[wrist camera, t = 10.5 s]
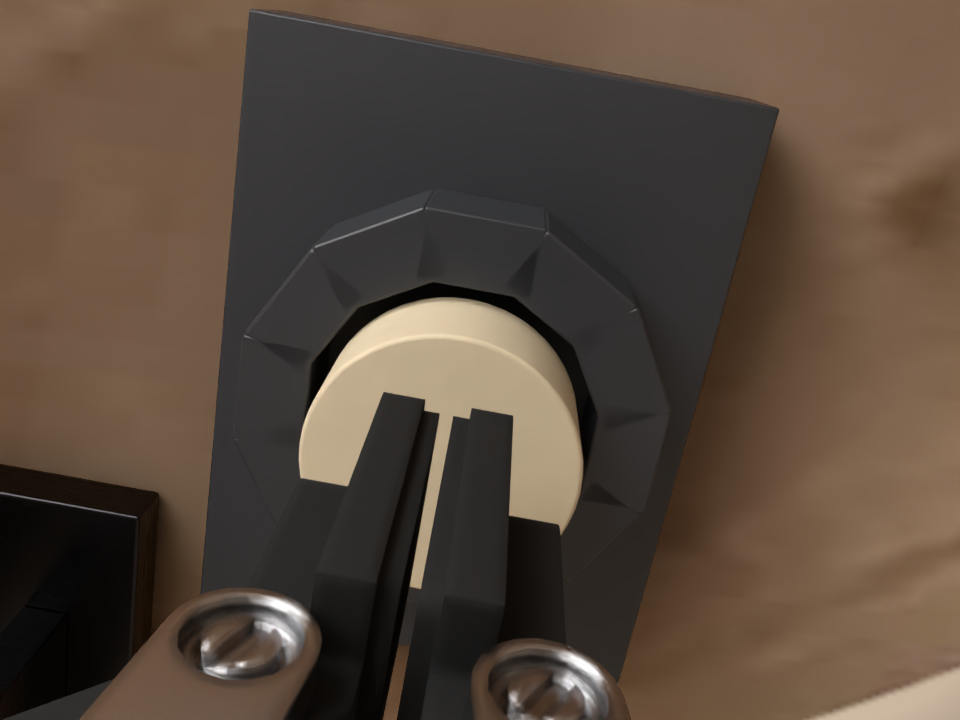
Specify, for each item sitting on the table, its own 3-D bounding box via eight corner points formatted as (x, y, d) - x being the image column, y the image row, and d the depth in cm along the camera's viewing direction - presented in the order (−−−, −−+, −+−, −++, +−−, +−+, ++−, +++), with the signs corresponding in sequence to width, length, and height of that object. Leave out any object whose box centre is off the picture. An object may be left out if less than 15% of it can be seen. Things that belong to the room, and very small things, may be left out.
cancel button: (341, 274, 15) (315, 309, 13) (601, 322, 15) (612, 364, 13) (312, 504, 17) (284, 566, 15) (548, 547, 17) (552, 614, 15)
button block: (281, 10, 17) (213, 6, 14) (750, 98, 17) (811, 118, 14) (230, 553, 21) (167, 665, 18) (609, 621, 22) (626, 746, 18)
